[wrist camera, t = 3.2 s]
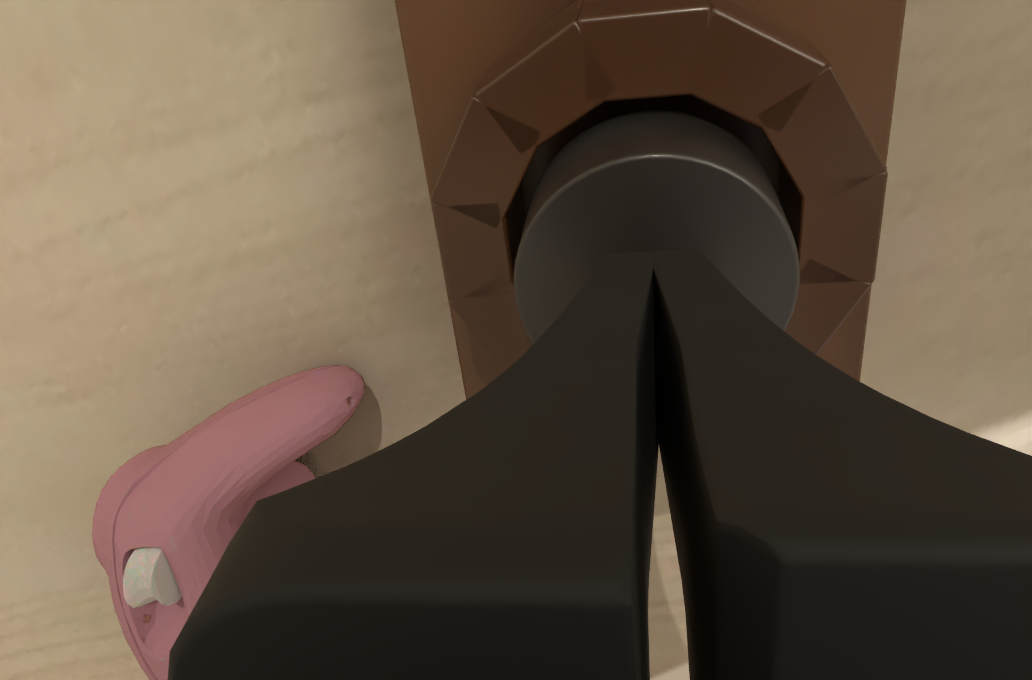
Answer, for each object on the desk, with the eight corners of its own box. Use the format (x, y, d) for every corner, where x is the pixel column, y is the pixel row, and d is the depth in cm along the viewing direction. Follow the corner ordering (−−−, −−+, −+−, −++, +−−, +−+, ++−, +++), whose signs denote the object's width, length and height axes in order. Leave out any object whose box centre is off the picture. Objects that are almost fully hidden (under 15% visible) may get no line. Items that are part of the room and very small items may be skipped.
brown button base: (888, -163, 13) (979, -161, 10) (835, 361, 18) (882, 481, 15) (406, -101, 14) (338, -80, 11) (483, 372, 19) (452, 484, 16)
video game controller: (250, 336, 22) (4, 521, 17) (369, 349, 19) (111, 573, 14) (389, 592, 26) (223, 789, 22) (499, 631, 24) (336, 866, 19)
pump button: (784, 97, 12) (811, 141, 10) (771, 331, 14) (792, 402, 12) (514, 119, 13) (495, 165, 11) (540, 340, 15) (528, 408, 13)
